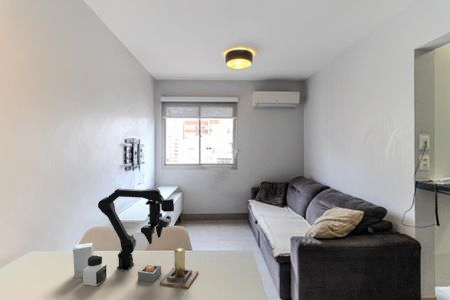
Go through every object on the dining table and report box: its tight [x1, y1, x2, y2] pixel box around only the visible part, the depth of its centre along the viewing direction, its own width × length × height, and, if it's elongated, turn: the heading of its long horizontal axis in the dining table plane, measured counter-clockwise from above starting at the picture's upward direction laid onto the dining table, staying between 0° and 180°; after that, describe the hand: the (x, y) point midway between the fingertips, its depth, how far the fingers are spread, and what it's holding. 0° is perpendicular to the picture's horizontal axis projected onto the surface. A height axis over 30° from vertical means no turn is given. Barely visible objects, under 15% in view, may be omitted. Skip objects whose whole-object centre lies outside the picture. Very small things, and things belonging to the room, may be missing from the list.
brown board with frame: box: [159, 267, 199, 290], centre depth 121 cm, size 14×14×2 cm
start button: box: [146, 264, 154, 272], centre depth 122 cm, size 4×4×3 cm
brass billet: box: [174, 247, 186, 278], centre depth 120 cm, size 5×5×13 cm
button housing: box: [137, 263, 162, 283], centre depth 122 cm, size 8×8×4 cm
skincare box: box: [72, 242, 94, 279], centre depth 124 cm, size 8×6×15 cm
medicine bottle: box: [82, 254, 107, 287], centre depth 118 cm, size 7×7×12 cm
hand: (154, 240), depth 134 cm, fingers open, 9 cm apart
